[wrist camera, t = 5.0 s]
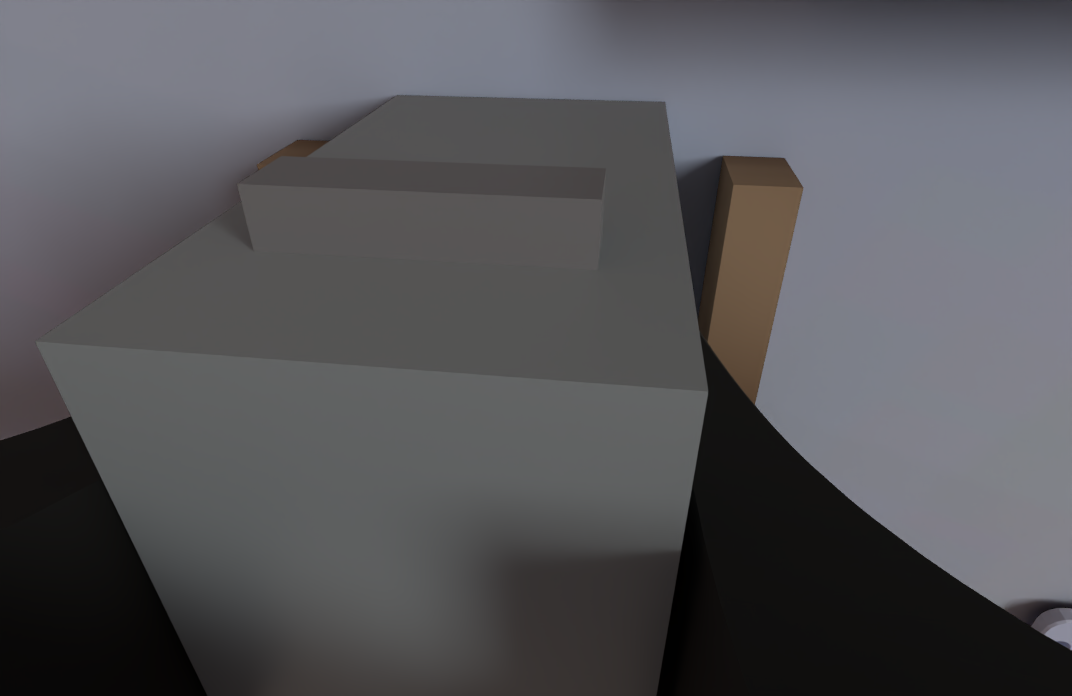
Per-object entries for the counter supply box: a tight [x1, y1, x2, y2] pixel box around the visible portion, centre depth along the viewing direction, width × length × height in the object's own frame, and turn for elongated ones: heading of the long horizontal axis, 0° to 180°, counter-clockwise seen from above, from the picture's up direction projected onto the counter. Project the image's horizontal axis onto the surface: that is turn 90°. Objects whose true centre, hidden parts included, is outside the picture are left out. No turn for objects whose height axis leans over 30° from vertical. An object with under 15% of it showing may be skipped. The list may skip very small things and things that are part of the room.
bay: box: [257, 140, 803, 405], centre depth 14 cm, size 10×8×2 cm
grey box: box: [35, 95, 708, 696], centre depth 9 cm, size 8×4×8 cm, turn 0°
